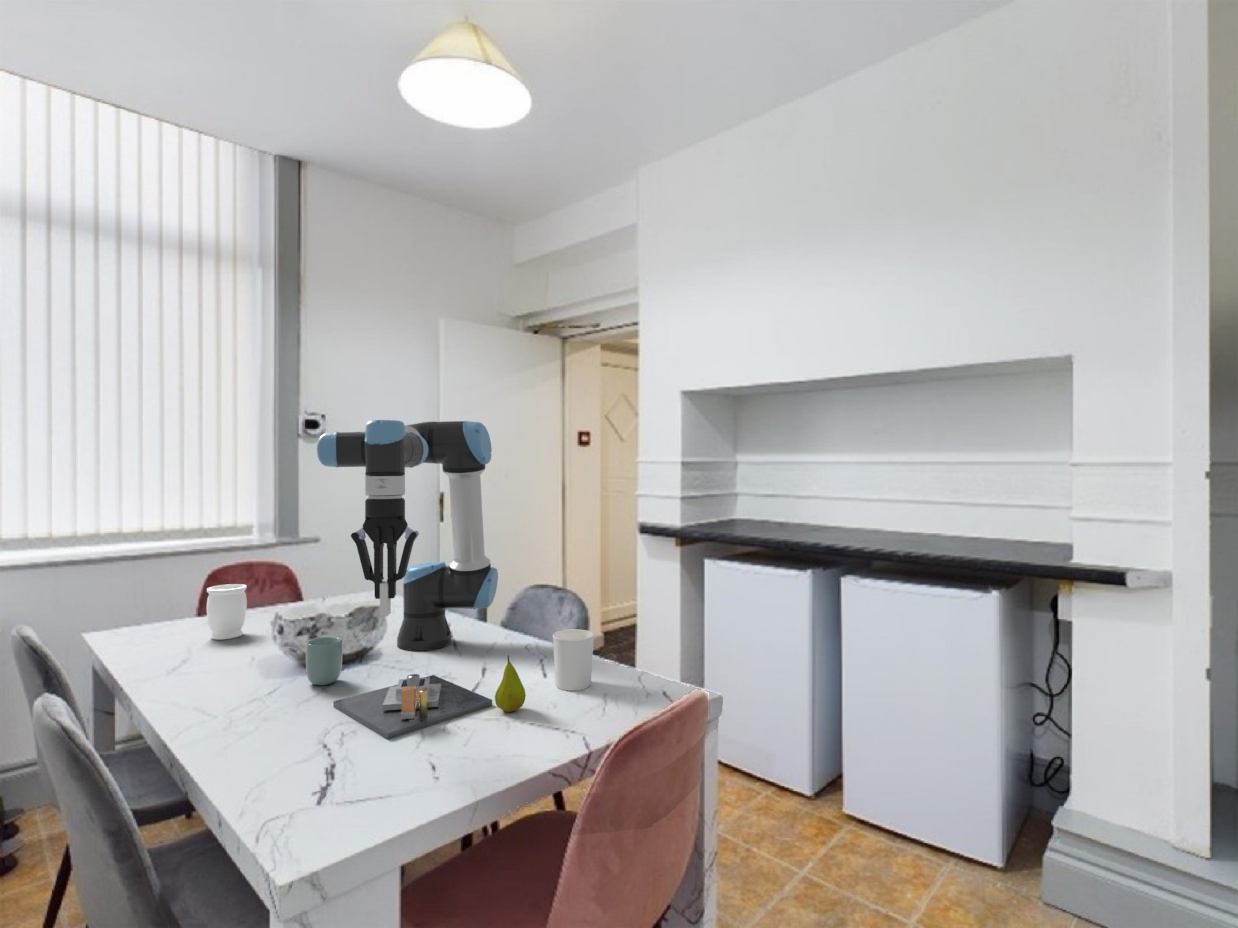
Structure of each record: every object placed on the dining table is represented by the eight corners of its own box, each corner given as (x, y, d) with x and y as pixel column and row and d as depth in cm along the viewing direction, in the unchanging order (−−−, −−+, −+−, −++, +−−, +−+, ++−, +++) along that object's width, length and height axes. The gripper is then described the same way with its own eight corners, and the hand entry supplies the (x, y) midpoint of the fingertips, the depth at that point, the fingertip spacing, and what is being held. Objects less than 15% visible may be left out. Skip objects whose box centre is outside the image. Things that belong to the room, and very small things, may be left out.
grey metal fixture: (389, 692, 145) (389, 666, 145) (441, 688, 147) (441, 663, 147) (378, 720, 129) (378, 692, 129) (436, 716, 131) (436, 688, 131)
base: (433, 679, 158) (433, 652, 158) (492, 705, 141) (492, 675, 141) (333, 706, 140) (333, 676, 140) (387, 739, 124) (387, 705, 124)
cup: (328, 689, 151) (328, 646, 151) (298, 687, 152) (298, 644, 152) (348, 678, 158) (348, 637, 158) (320, 676, 160) (320, 635, 160)
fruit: (524, 704, 142) (525, 649, 142) (525, 715, 136) (526, 657, 136) (495, 705, 141) (495, 650, 141) (494, 716, 135) (494, 658, 135)
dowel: (424, 713, 133) (424, 688, 133) (428, 715, 132) (428, 690, 132) (417, 715, 132) (417, 690, 132) (421, 717, 131) (421, 692, 131)
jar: (233, 641, 191) (233, 590, 191) (198, 641, 191) (198, 590, 191) (254, 631, 202) (254, 583, 202) (220, 631, 202) (220, 583, 202)
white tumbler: (543, 685, 154) (543, 634, 154) (574, 675, 161) (574, 626, 161) (572, 695, 147) (572, 642, 147) (602, 684, 155) (602, 634, 155)
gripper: (345, 498, 126) (345, 619, 126) (415, 498, 128) (415, 618, 128) (356, 496, 134) (356, 611, 134) (422, 496, 135) (422, 609, 135)
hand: (385, 614), depth 131 cm, fingers closed
